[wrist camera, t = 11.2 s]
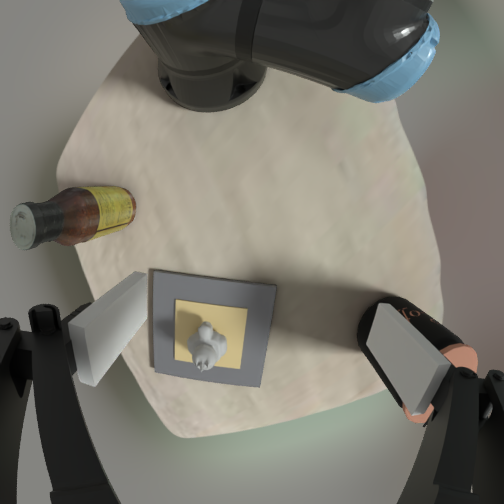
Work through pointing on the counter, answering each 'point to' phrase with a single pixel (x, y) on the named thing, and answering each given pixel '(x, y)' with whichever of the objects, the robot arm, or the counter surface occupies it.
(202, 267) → the counter surface
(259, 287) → the board
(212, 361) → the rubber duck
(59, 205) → the sauce bottle
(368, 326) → the coffee jar
